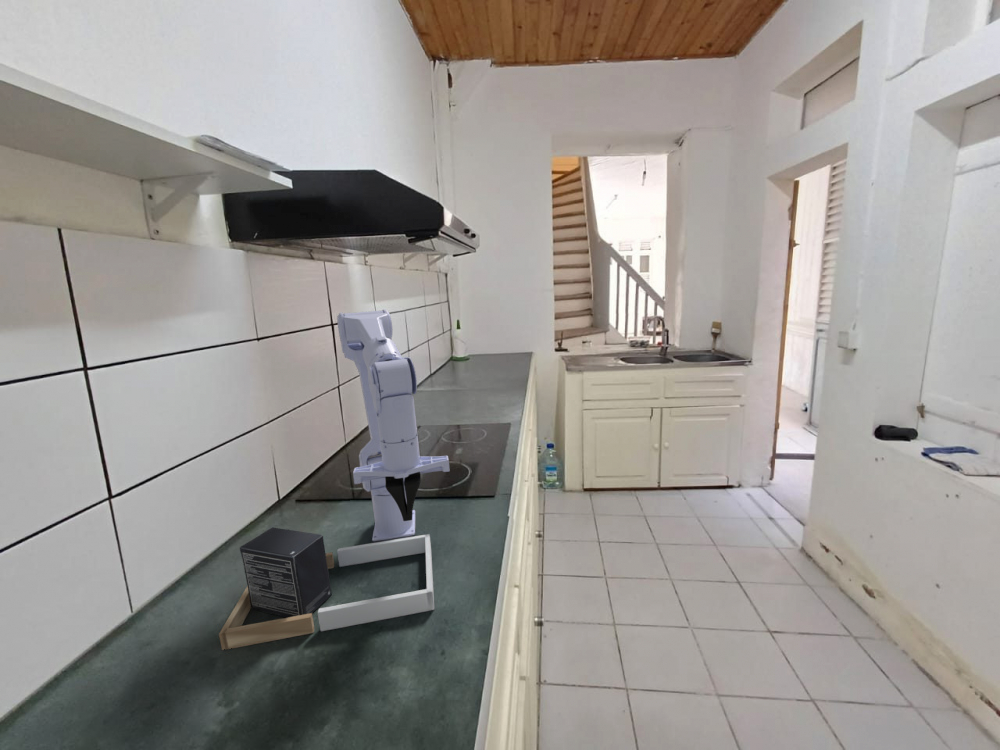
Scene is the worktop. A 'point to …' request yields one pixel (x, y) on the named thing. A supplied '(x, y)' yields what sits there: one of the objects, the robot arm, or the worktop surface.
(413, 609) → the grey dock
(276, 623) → the block
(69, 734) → the worktop surface
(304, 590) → the small box
